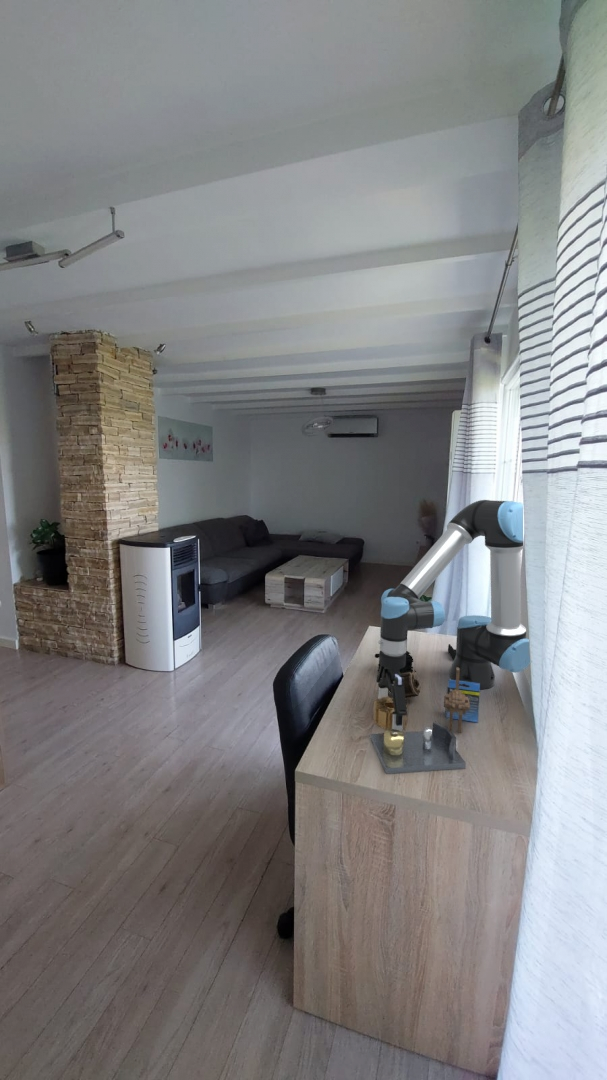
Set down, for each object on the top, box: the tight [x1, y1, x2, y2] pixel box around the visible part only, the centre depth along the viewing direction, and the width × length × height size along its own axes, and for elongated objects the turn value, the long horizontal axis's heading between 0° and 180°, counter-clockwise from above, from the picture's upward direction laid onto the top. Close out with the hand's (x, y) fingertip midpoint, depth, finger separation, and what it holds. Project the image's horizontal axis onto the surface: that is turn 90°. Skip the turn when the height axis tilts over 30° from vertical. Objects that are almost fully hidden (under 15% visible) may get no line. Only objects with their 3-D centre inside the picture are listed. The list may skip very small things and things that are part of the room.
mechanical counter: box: [385, 669, 422, 699], centre depth 136 cm, size 7×13×10 cm, turn 78°
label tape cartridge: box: [445, 678, 481, 723], centre depth 127 cm, size 9×4×12 cm, turn 74°
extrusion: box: [374, 650, 417, 673], centre depth 155 cm, size 12×12×10 cm
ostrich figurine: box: [443, 667, 470, 751], centre depth 115 cm, size 17×7×18 cm, turn 161°
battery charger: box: [447, 643, 456, 661], centre depth 171 cm, size 13×10×4 cm
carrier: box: [370, 721, 467, 775], centre depth 110 cm, size 20×14×6 cm
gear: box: [372, 696, 408, 730], centre depth 125 cm, size 9×9×5 cm
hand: (389, 720), depth 125 cm, fingers open, 13 cm apart
